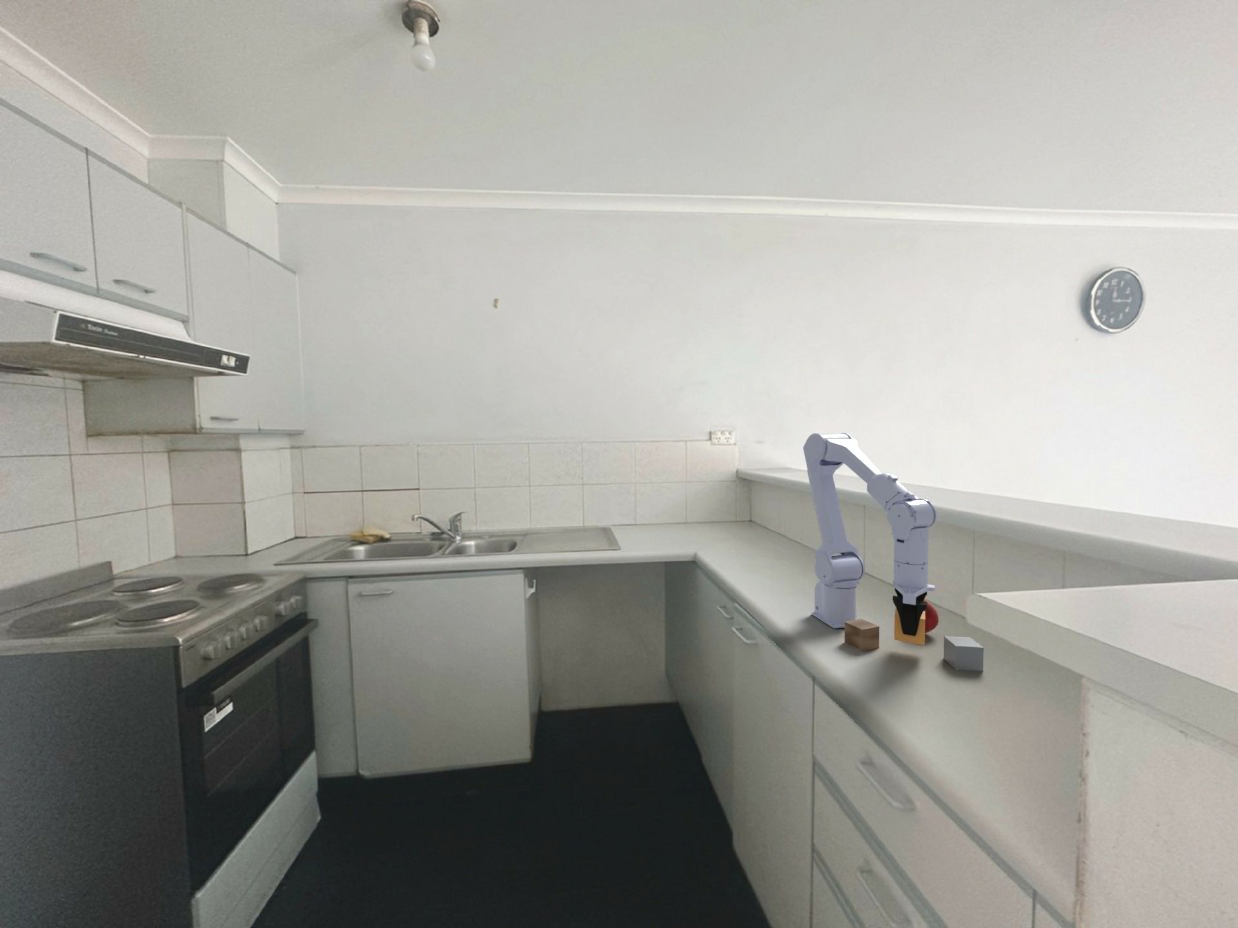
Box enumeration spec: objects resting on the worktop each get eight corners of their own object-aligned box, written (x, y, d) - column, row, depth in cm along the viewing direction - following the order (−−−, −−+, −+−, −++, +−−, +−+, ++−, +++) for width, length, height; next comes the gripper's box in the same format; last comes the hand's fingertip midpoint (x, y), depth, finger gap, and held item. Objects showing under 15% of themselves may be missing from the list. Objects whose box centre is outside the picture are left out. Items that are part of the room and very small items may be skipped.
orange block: (895, 630, 97) (895, 606, 97) (924, 635, 94) (925, 611, 94) (894, 639, 93) (894, 614, 92) (924, 645, 90) (925, 619, 90)
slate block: (943, 658, 92) (943, 635, 91) (969, 660, 91) (970, 637, 90) (955, 669, 87) (955, 645, 87) (983, 671, 86) (983, 647, 86)
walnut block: (844, 642, 100) (844, 621, 99) (860, 639, 101) (861, 618, 101) (862, 651, 95) (862, 629, 95) (879, 647, 97) (879, 626, 97)
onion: (943, 640, 100) (944, 602, 99) (913, 638, 101) (913, 601, 100) (931, 629, 105) (931, 593, 105) (902, 627, 106) (902, 592, 106)
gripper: (936, 573, 84) (934, 647, 85) (934, 555, 97) (933, 621, 97) (890, 567, 88) (889, 639, 89) (894, 551, 100) (893, 614, 101)
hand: (909, 629), depth 93 cm, fingers closed on orange block, 5 cm apart
